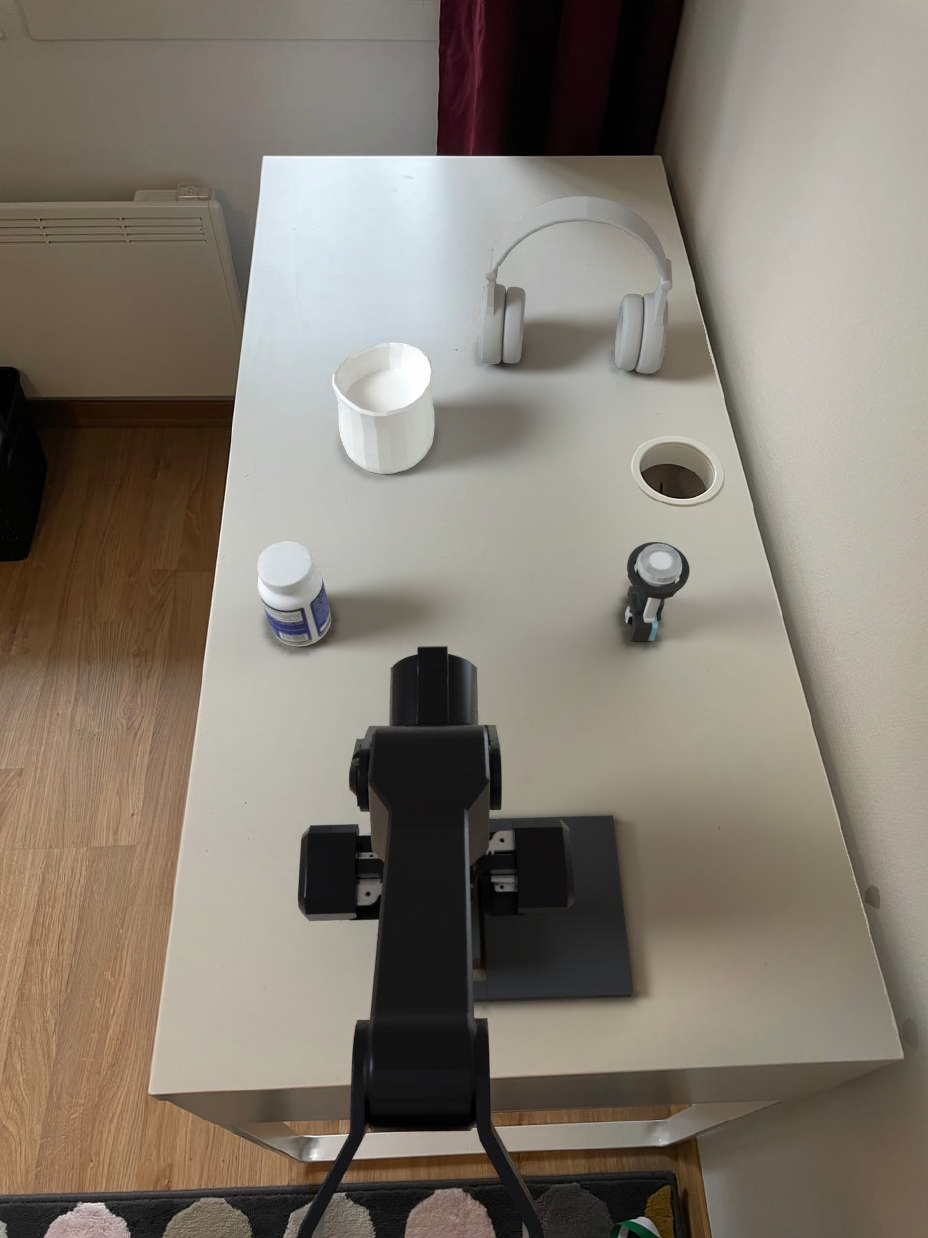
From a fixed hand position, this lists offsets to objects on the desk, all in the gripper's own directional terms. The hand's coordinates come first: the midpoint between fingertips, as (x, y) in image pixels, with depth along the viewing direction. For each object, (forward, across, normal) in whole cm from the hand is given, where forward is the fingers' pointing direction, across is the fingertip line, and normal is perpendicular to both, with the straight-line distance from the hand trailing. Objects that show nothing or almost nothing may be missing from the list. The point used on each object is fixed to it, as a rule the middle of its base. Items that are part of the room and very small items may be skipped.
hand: (438, 900), depth 73 cm
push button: (+3, -20, -27) cm, 34 cm away
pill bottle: (+3, +12, -27) cm, 30 cm away
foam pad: (+1, 0, 0) cm, 1 cm away
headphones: (+3, -16, -61) cm, 63 cm away
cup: (+3, +4, -49) cm, 49 cm away
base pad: (+3, -4, 0) cm, 5 cm away
